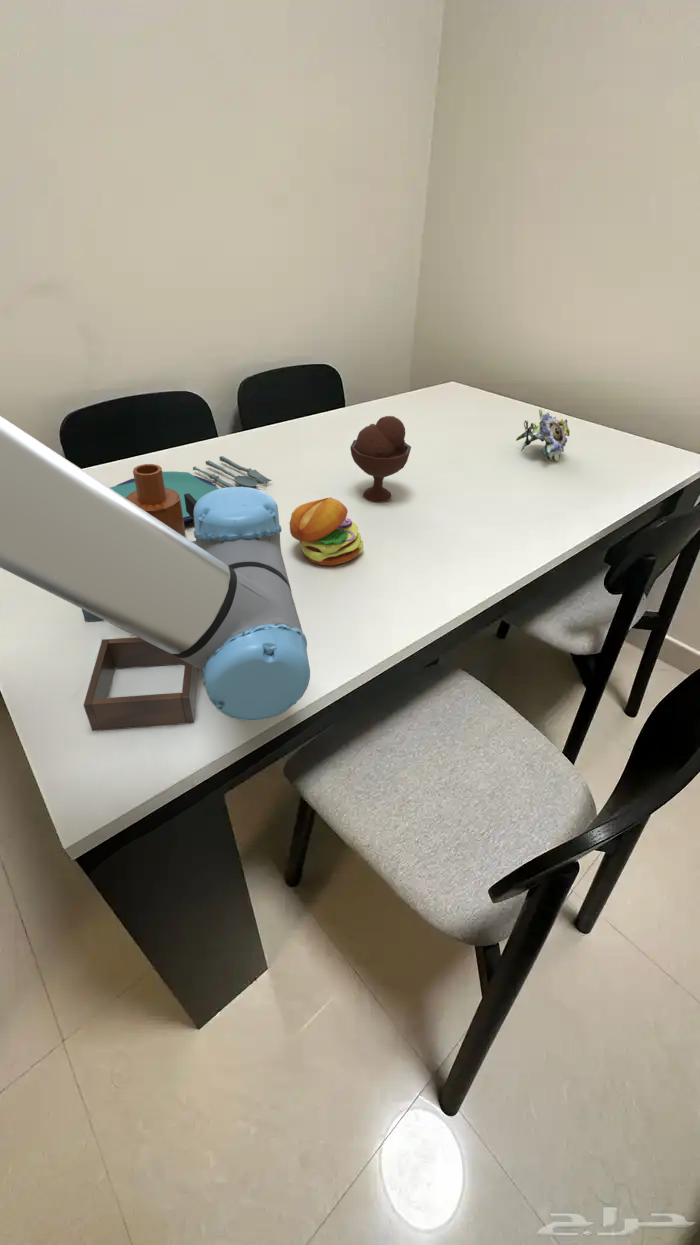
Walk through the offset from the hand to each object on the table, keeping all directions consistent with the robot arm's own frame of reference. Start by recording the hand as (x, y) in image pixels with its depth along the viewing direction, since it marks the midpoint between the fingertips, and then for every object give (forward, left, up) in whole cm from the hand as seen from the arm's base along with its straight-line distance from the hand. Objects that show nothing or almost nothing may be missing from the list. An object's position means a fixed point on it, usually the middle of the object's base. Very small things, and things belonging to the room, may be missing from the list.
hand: (146, 511), depth 80 cm
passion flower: (+78, +41, -10) cm, 89 cm away
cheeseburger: (+26, +3, -10) cm, 28 cm away
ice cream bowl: (+38, +23, -10) cm, 45 cm away
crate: (+2, -26, -10) cm, 27 cm away
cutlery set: (+3, +24, -10) cm, 27 cm away
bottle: (+2, -4, -9) cm, 10 cm away
